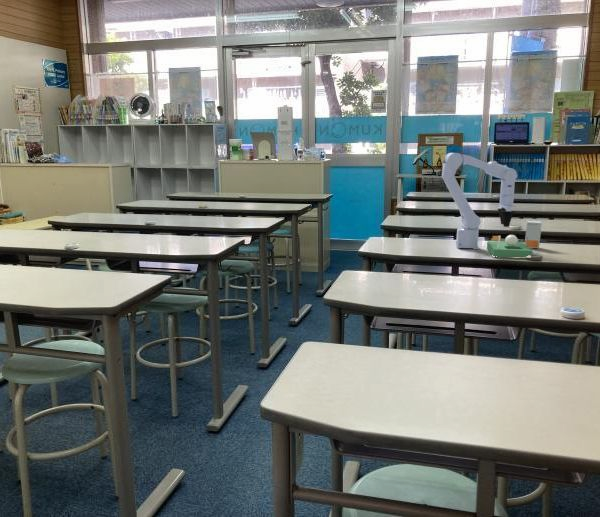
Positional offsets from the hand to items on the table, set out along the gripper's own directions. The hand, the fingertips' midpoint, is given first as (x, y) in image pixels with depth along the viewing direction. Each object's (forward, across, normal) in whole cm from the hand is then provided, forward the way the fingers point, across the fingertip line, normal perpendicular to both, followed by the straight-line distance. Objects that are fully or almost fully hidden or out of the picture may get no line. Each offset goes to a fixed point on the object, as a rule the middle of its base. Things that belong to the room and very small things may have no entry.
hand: (504, 225), depth 242 cm
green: (+10, -13, 0) cm, 17 cm away
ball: (+4, -15, -1) cm, 15 cm away
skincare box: (+11, +3, -13) cm, 17 cm away
